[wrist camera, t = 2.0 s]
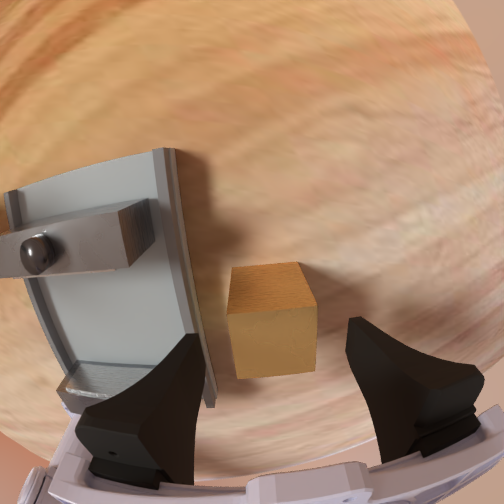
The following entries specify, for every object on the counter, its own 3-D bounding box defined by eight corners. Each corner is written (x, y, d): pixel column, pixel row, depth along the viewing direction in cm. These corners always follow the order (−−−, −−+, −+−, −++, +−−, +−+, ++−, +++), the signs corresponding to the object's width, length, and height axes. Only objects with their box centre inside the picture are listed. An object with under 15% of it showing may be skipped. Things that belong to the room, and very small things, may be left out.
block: (298, 316, 18) (315, 371, 13) (239, 322, 18) (237, 378, 13) (297, 261, 17) (317, 305, 12) (232, 267, 17) (226, 314, 12)
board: (217, 389, 21) (215, 407, 19) (85, 382, 21) (77, 396, 19) (174, 148, 15) (164, 147, 13) (19, 189, 15) (2, 193, 13)
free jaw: (156, 245, 15) (121, 282, 10) (35, 259, 15) (-9, 288, 11) (148, 197, 14) (106, 216, 10) (26, 222, 14) (-22, 244, 10)
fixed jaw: (194, 388, 19) (187, 428, 15) (88, 381, 19) (70, 412, 16) (186, 362, 18) (176, 403, 15) (75, 357, 18) (54, 388, 15)
